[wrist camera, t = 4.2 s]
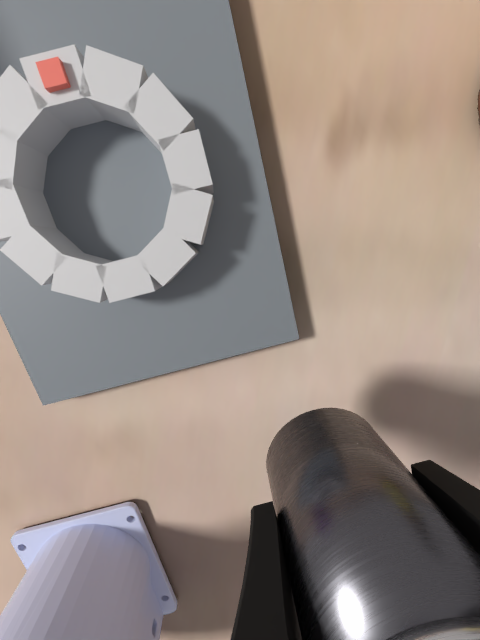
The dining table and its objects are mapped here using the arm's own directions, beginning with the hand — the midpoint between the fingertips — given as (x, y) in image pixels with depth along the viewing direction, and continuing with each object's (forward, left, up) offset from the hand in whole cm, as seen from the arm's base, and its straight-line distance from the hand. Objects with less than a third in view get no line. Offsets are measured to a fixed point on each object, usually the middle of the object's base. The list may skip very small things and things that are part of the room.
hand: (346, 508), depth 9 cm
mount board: (+12, +6, -9) cm, 16 cm away
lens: (0, 0, -2) cm, 2 cm away
